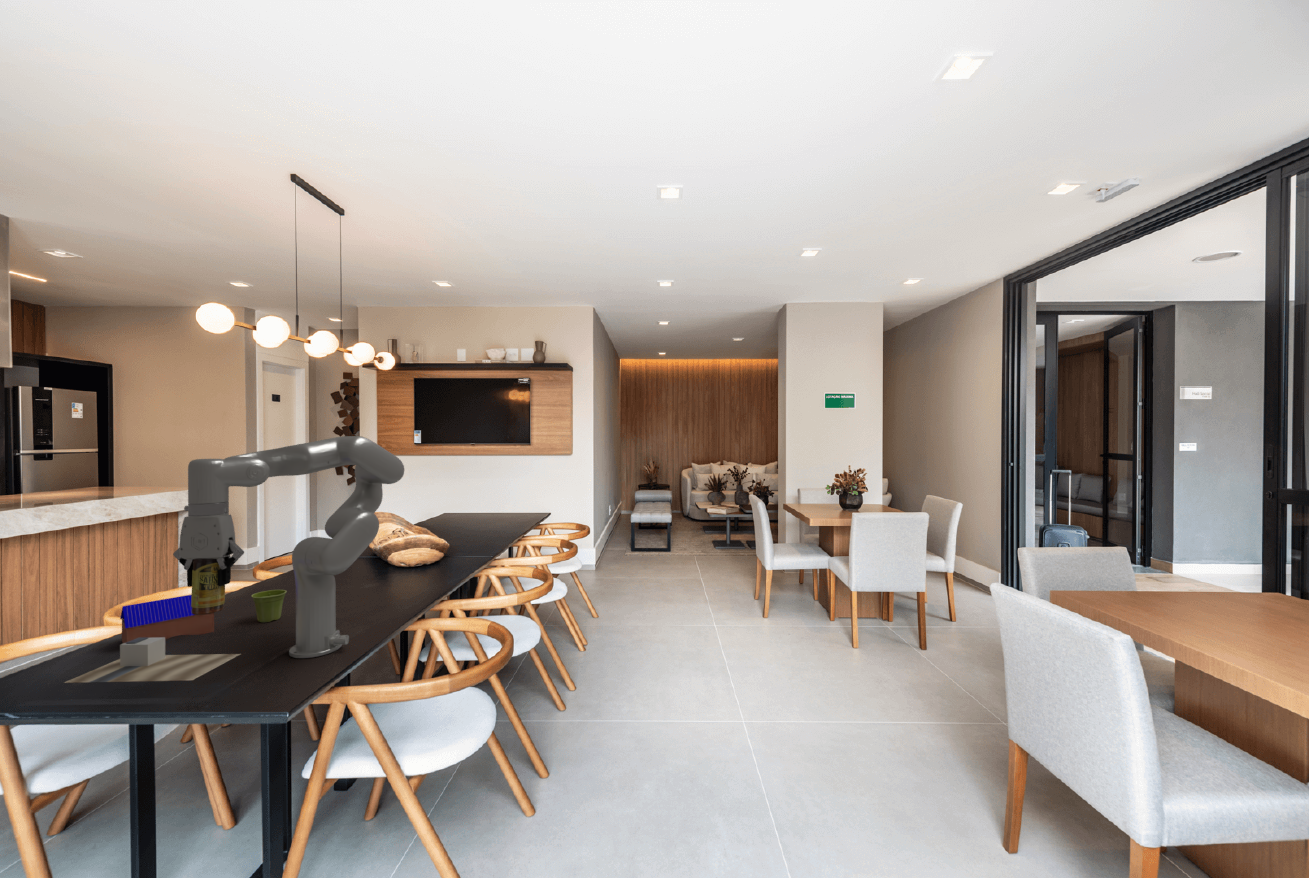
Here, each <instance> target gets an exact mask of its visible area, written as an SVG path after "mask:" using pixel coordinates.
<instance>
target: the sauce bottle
mask: <svg viewBox="0 0 1309 878" xmlns="http://www.w3.org/2000/svg"><path fill="white" fill-rule="evenodd" d="M219 569H221V568H220V566H219V564H218V562H217V559H194V561H193V570H192V586H191V594H190V595H191V607H192V614H194V615H204V614H211V613H214V614H215V613H218V612H221V611H223V610H224V604H225V603H226V585H223V586H218V570H219Z"/></svg>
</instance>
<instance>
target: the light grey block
mask: <svg viewBox="0 0 1309 878" xmlns="http://www.w3.org/2000/svg"><path fill="white" fill-rule="evenodd" d="M119 655H120V656H119V659H120V666H149V665H151V664H153V663H155V662H158V661H160V660H162V659H164V658H165V655H166V640H165V637H156V638H148V637H139V638H136V639H134V640H131V641H129V642H126V643H124V644H123V643H121V644H119Z"/></svg>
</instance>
